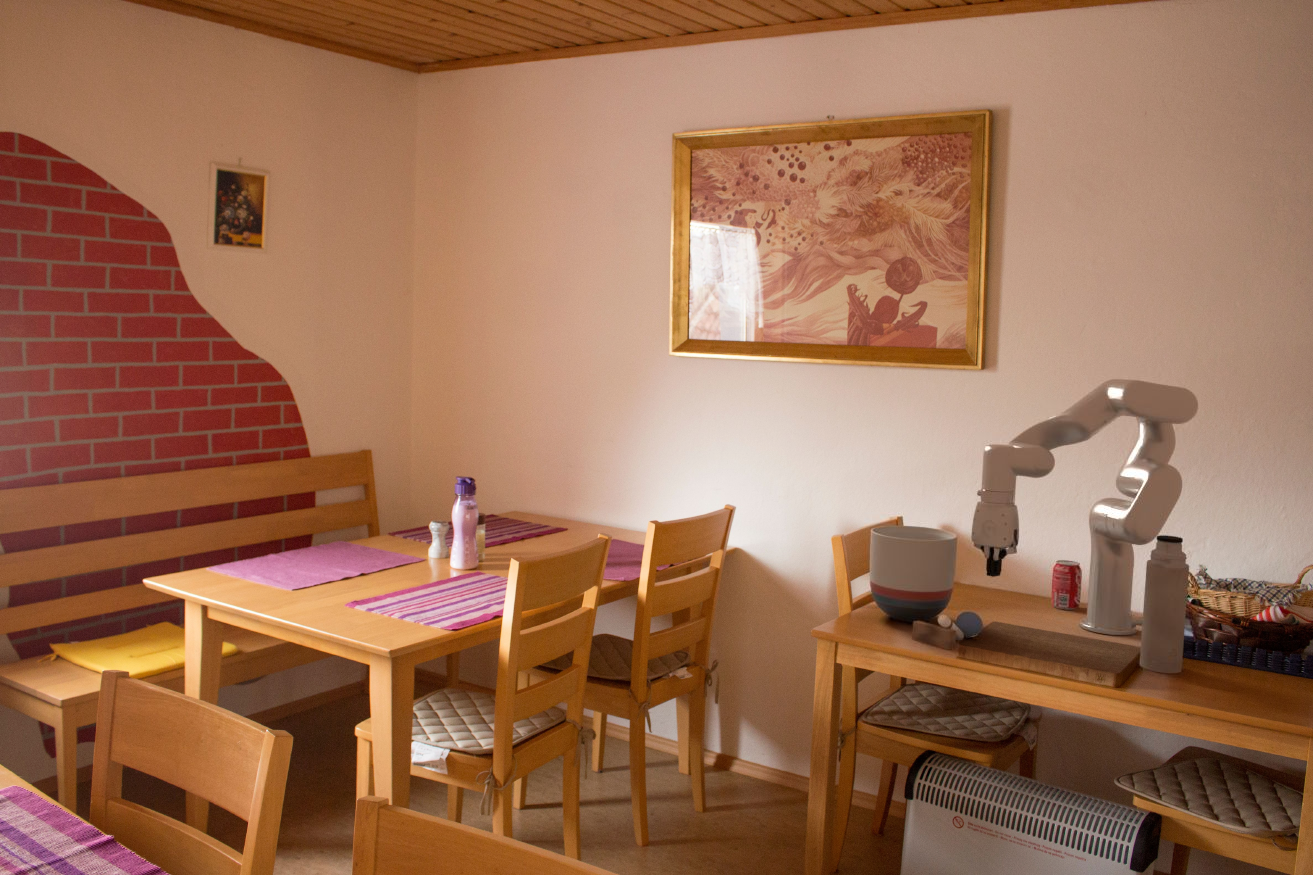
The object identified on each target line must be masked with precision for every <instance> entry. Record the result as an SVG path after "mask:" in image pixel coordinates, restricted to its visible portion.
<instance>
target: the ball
mask: <svg viewBox="0 0 1313 875" xmlns="http://www.w3.org/2000/svg"><path fill="white" fill-rule="evenodd" d="M982 620H983V619H982V618H981V617H980V616H979V615H978V613H975V612H974V611H970V610H969V611H963V612H961V613H960V614H958V616H957V617H956V619H955V623H954V624H955V625H956V626H957V627H958V628H959V629H960V630H961V631H962V632H963V633H964V637H963V638H967V639H969V638H968V637H971V636H973V635H976V634H978V633H979V632H981V633H982V631H983V626H984V625H983V623H984V622H983V621H982Z"/></svg>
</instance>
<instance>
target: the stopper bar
mask: <svg viewBox="0 0 1313 875" xmlns="http://www.w3.org/2000/svg"><path fill="white" fill-rule="evenodd" d="M911 636H912V638H911V639H912V640H915V641H918V642H920V643H925V644H929V645H932V646H935V647H939V648H942V649H946V650H950V651H951V650H954V649H956V640H955V639H956V630H952V629H948V628H944V627H942V626H941V625H937V624H933V623H930V622H929V623H928V622H927V621H923V622H922V621H914V622H912V635H911Z"/></svg>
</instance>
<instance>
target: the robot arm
mask: <svg viewBox="0 0 1313 875" xmlns="http://www.w3.org/2000/svg"><path fill="white" fill-rule="evenodd" d="M1198 409H1199V401H1198V399H1197V396H1196V395H1195V393H1194V392H1192V391H1191V390H1189V389H1187V388H1186V387H1181V386H1175V385H1174V386H1173V385H1168V384H1160V383H1154V382H1150V381H1144V380H1137V379H1121V378H1115V379H1114V378H1113V379H1109V380H1107V381H1106V380H1105V381H1104V382H1102V383H1101V384H1099V385H1098V386H1096V388H1093V390H1092V391H1090V392H1088V394H1086V395H1085V396H1083V397H1082V398H1081V399H1079V400H1078V401H1077V402H1075V403H1074V404H1073V405H1071V406H1070V407H1068V408H1067V409H1066V410H1064V411H1062V412H1060V413H1057V414H1056V415H1054V416H1051V417H1049V418H1046V419H1044V420H1042V421H1040V422H1038V423H1036V424H1034V425H1032V426H1030V427H1028V428H1026V429H1025V430H1023V431H1022V432H1020V433H1019V434H1018V435H1017V436H1015V437H1014V438H1013V439H1011V440H1010V441H1009V442H1008V443H1007V444H999V443H996V444H993V443H992V444H988V445H986V446H985V447H984V449H983V455H982V456H983V457H982V473H981V488H980V489H979V490H977V493H976V494H977V496H978V497H980V500H979V501H977V502H976V505H975V509H974V513H973V519H972V524H971V536H970V537H971V542H972V543H973V546H974V548H976V549H979V550H981V552H982V553H983V555H984V558H985V559H986V566H985V569H986V570H985V571H986V576H988V577H991V578H993V577H999V576H1001V573H1002V566H1003V565H1002V564H1003V560H1004V559H1005V557H1007V556H1008V555H1013V554H1015V555H1016V554H1017V552H1018V550H1017V547H1018V546H1019V545H1018V544H1019V539H1020V520H1019V519H1020V518H1019V511H1018V506H1017V505H1015V504H1016V489H1017V488H1016V486H1017V476H1019V477H1026V478H1032V479H1039V478H1044V477H1046V476H1048V475H1049V474H1050V473H1052V472H1053V470H1054V467H1055V466H1056V463H1055V462H1056V460H1055V456H1054V455H1053V453H1052V452H1051V451H1052V450H1054V449H1057V448H1060V447H1065V446H1070V445H1075V444H1079V443H1083V442H1086V441H1089V440H1091V438H1093V437H1094V436H1096V435H1097V434H1098V433H1099V432H1100V431H1102V430H1104V429H1105V428H1106V427H1107V426H1108V425H1109V426H1110V424H1112V423H1113V422H1114V421H1116V420H1117V419H1118V418H1119V417H1122V416H1123V417H1132V418H1133V417H1134V418H1136V421H1137V427H1138V434H1137V437H1136V440H1135V442H1134V445H1133V447H1132V448H1131V450H1130V452H1129V454H1128V455H1127V457H1126V459H1125V461H1124V463H1123V464H1122V466H1121V467H1120V469H1119V471H1118V473H1117V476H1116V477H1115V486H1116V488H1117V489H1116V490H1118V491H1119V492H1120V493H1121V494H1122V495H1124V496H1126V497H1128V498H1132V499H1133V501H1130V500H1126V499H1122V498H1116V497H1106V498H1105V497H1104V498H1102V499H1100V500H1098V501H1096V502H1095V503H1094V505H1092V507H1091V509H1090V510H1089V514H1088V526H1089V533H1090V550H1091V551H1090V563H1089V564H1090V565H1089V578H1088V590H1087V591H1088V594H1087V608H1086V617H1084V618H1081V619H1080V620H1079V623H1078V624H1079V626H1080V628H1083V629H1084V630H1086V631H1090V632H1094V633H1098V634H1103V635H1110V636H1111V635H1112V636H1130V635H1134V634H1136V633H1137V630H1138V629H1137V626H1140V627H1142V623H1143V616H1136V615H1135V614H1134V615H1133V612H1132V595H1133V582H1134V570H1135V569H1134V568H1135V552H1134V547H1133V545H1136V546H1144V545H1147V544H1150V543H1151V542H1153V541H1154V540H1155V539H1157V536H1159V534H1160V532H1161V531H1162V529H1163V528H1164V525H1165V524H1166V522H1167V521H1168V519H1169V517H1170V516H1171V513H1172V511H1173V510H1174V508H1175V507H1176V504H1177V502H1178V501H1179V499H1180V496H1181V494H1182V490H1183V479H1182V478H1183V477H1182V475H1181V474H1180V472H1179V470H1178V469H1177V468H1176V467H1175V466H1173V465H1171V464H1169V462H1170V460H1171V458H1172V456H1173V454H1174V451H1175V449H1176V441H1177V440H1176V433H1175V428H1174V425H1181V424H1182V425H1183V424H1185V423H1188V422H1190V421H1191V420H1192V419H1194V417H1195V416H1196V414H1197V412H1198ZM1173 424H1174V425H1173Z"/></svg>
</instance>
